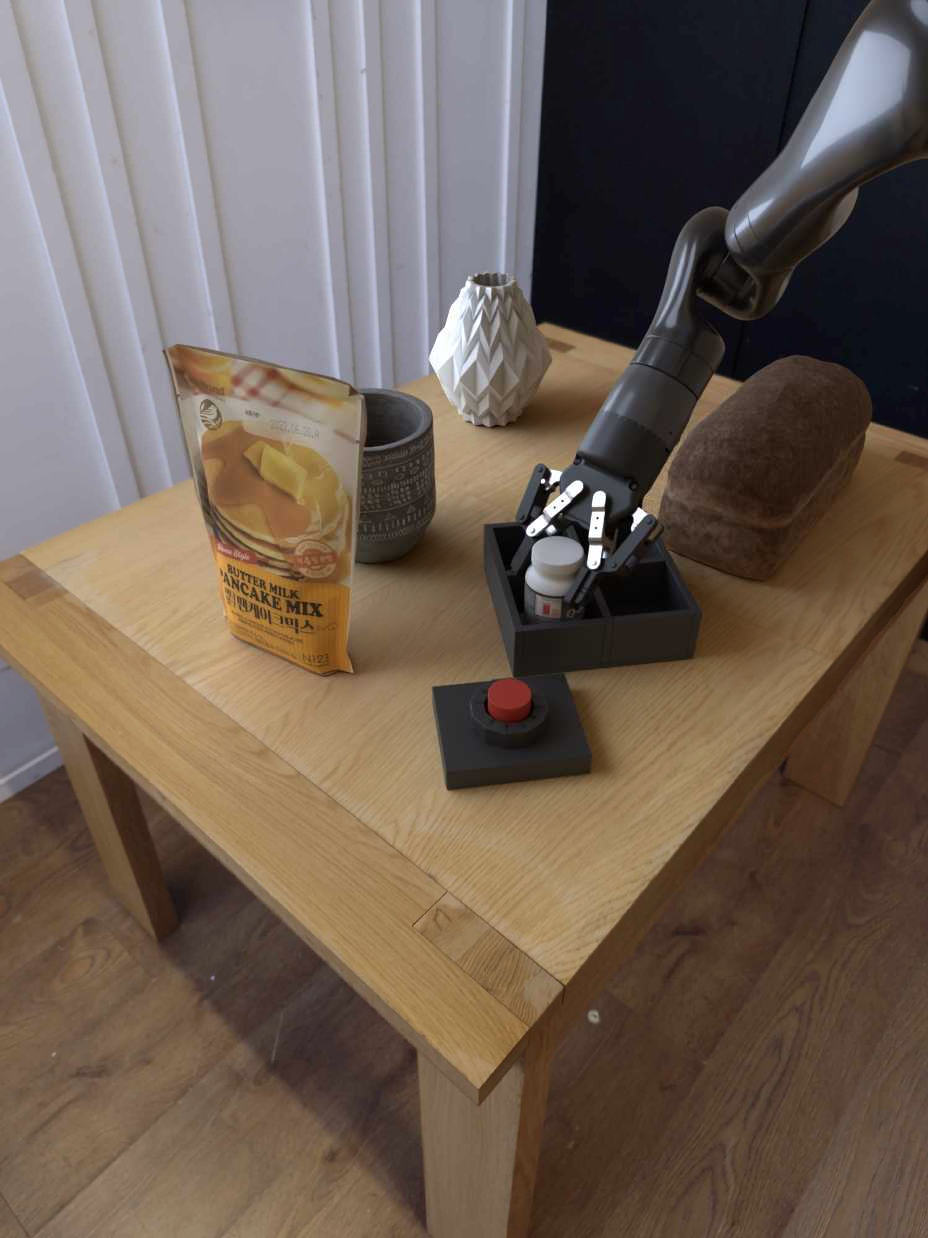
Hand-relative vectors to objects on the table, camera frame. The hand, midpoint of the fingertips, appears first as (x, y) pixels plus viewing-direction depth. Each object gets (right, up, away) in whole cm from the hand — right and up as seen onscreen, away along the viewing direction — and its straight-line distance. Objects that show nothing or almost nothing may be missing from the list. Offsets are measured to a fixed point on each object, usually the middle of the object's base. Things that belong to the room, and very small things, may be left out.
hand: (543, 591), depth 81 cm
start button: (-3, -10, -7) cm, 12 cm away
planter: (-17, +6, +19) cm, 27 cm away
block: (-3, -13, -4) cm, 14 cm away
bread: (+27, +11, +24) cm, 38 cm away
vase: (-4, +26, +42) cm, 50 cm away
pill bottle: (+1, -4, +5) cm, 7 cm away
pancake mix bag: (-24, -5, +6) cm, 25 cm away
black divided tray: (+5, -2, +9) cm, 10 cm away
